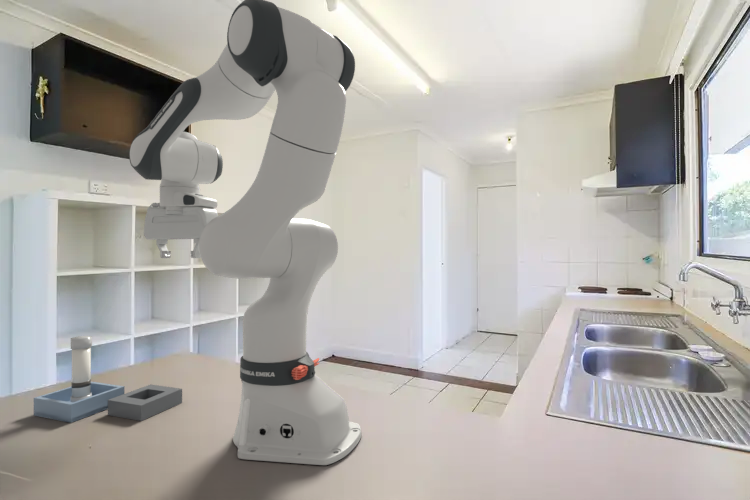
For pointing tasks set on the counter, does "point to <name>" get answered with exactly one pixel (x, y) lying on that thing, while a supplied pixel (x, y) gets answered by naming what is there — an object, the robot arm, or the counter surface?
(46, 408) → the parts tray
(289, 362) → the robot arm
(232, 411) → the counter surface
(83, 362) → the fuse
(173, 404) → the block
